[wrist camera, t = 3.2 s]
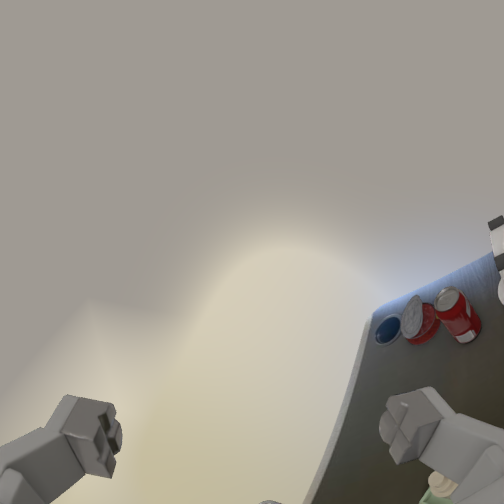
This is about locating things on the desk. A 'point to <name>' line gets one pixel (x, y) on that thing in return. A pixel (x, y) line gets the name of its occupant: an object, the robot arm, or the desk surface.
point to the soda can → (457, 314)
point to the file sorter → (265, 503)
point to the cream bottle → (441, 485)
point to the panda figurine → (498, 250)
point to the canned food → (419, 321)
